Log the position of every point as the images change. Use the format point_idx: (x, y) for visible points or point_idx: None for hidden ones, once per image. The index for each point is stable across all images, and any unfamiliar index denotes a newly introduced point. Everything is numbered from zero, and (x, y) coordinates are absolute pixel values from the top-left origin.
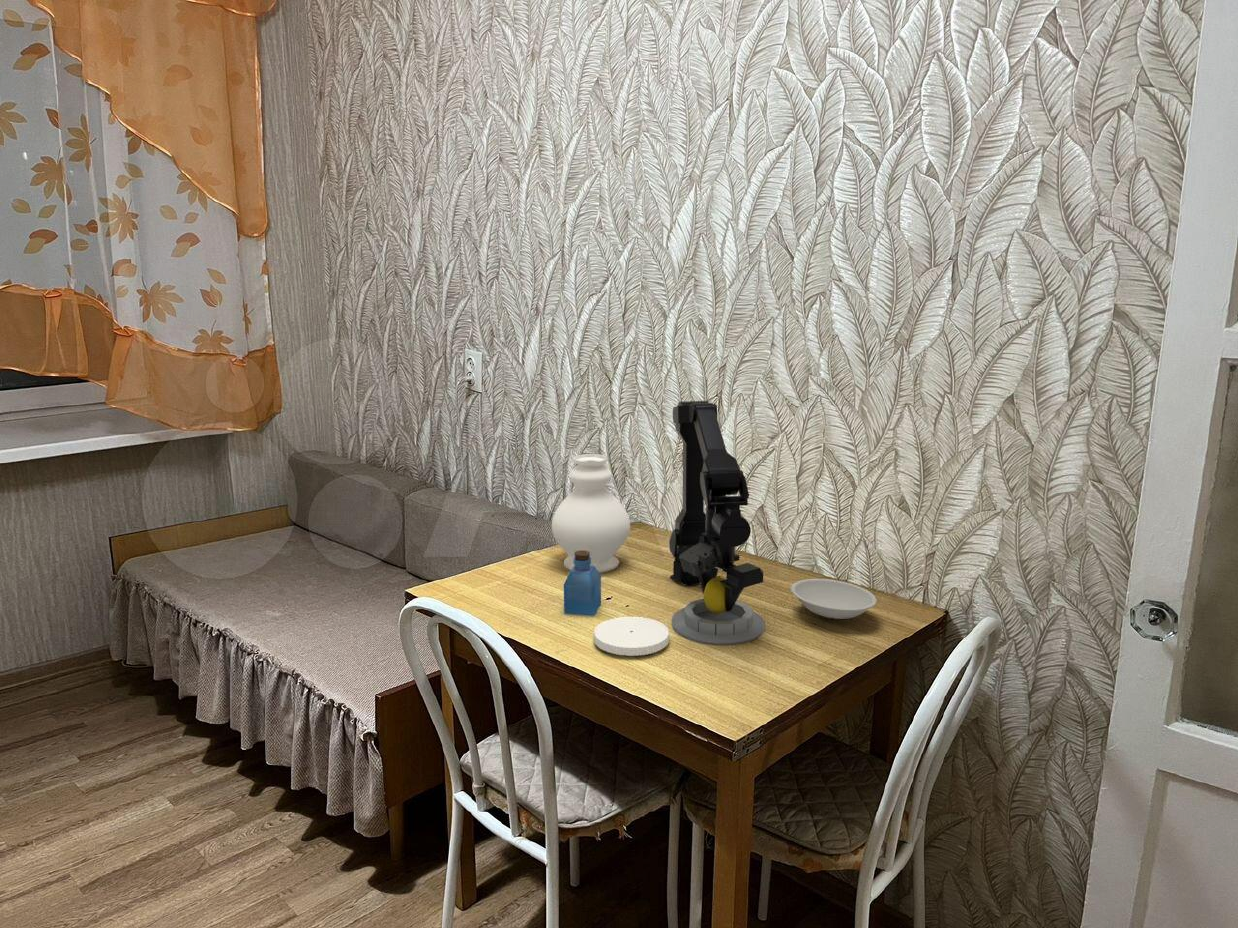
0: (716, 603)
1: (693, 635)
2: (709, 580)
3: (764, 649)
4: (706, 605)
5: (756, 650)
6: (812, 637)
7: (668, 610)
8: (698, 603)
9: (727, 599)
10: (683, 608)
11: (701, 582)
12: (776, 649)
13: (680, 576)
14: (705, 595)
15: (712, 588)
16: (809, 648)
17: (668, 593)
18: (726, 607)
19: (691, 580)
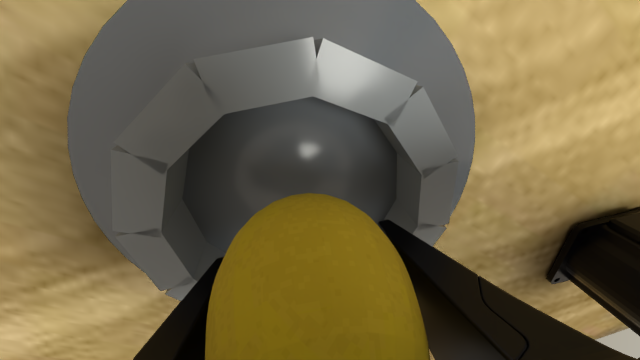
0: (229, 251)
1: (170, 2)
2: (458, 357)
3: (29, 244)
4: (309, 194)
5: (16, 218)
6: (130, 356)
7: (517, 79)
8: (420, 185)
9: (156, 338)
10: (473, 133)
11: (487, 302)
12: (31, 274)
13: (634, 230)
14: (325, 237)
15: (261, 356)
16: (44, 339)
17: (602, 155)
18: (210, 273)
19: (586, 245)
